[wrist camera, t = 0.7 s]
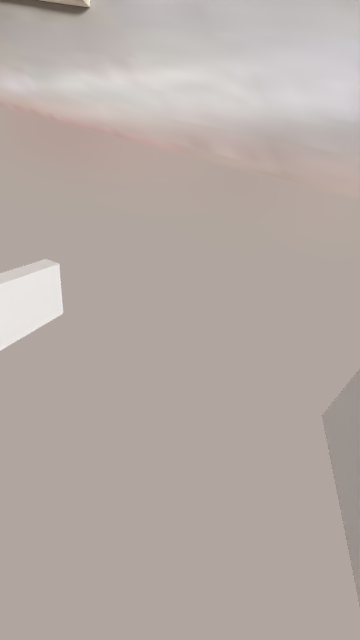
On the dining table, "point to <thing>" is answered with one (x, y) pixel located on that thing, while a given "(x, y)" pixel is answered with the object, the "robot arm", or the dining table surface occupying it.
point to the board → (72, 2)
